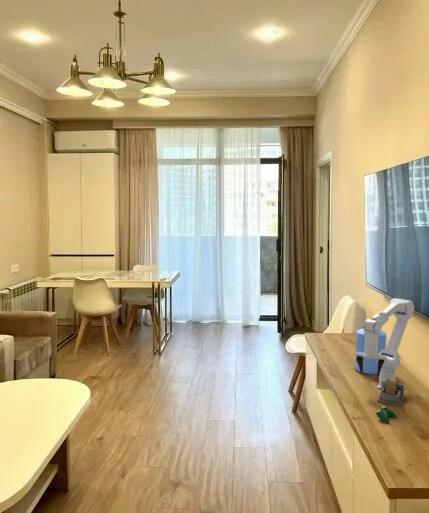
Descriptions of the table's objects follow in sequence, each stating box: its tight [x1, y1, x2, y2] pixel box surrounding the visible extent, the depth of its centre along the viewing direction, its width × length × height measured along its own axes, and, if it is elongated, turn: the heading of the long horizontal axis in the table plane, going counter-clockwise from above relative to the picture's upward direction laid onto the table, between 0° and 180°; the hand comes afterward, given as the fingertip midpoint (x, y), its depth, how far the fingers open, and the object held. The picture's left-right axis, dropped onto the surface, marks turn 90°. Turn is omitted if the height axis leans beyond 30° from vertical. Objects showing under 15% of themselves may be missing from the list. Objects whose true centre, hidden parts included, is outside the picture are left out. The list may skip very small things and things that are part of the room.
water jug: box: [354, 327, 387, 376], centre depth 269 cm, size 16×16×28 cm
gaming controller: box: [375, 405, 397, 424], centre depth 208 cm, size 9×4×6 cm
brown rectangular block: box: [385, 379, 397, 395], centre depth 228 cm, size 4×4×8 cm
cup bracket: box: [376, 381, 405, 407], centre depth 229 cm, size 12×10×6 cm
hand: (369, 373), depth 235 cm, fingers open, 7 cm apart
